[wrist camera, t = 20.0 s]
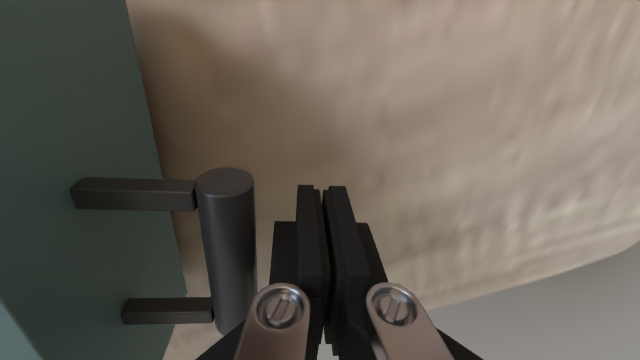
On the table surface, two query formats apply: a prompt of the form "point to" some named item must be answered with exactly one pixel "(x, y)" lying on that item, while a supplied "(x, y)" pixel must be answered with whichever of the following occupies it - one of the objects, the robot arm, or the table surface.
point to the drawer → (101, 198)
